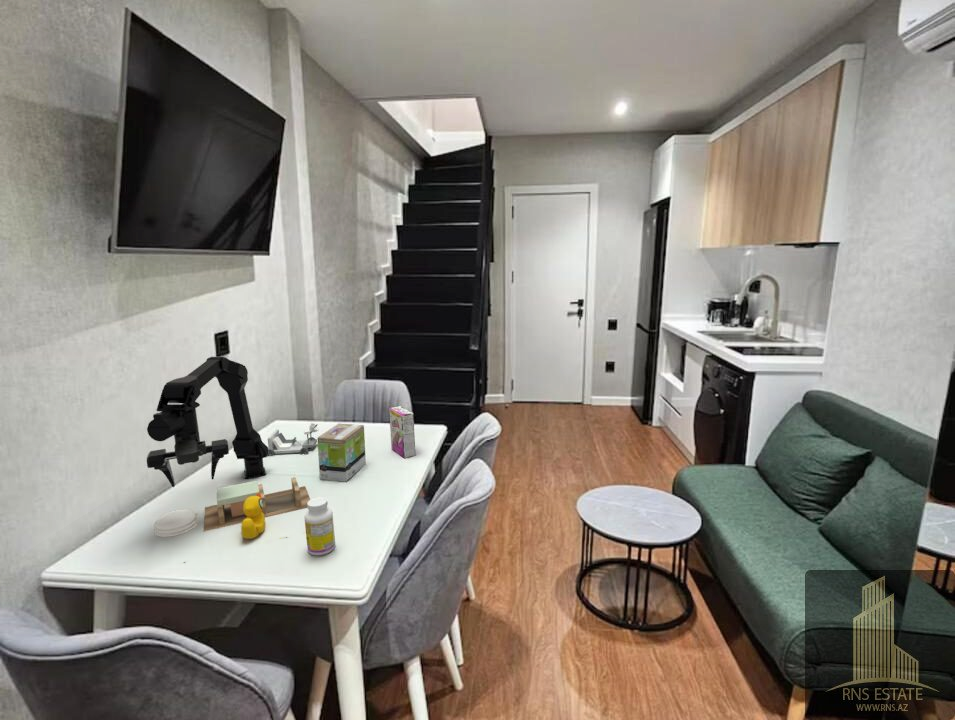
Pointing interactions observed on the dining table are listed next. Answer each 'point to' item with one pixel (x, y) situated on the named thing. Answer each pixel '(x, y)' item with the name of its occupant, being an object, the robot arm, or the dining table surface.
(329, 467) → the tea box
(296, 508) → the wooden slotted rack
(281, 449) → the toy car
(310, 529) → the supplement bottle
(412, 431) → the candy bar box
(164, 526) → the coaster
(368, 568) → the dining table surface
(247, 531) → the duckling
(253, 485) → the cover
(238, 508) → the block
